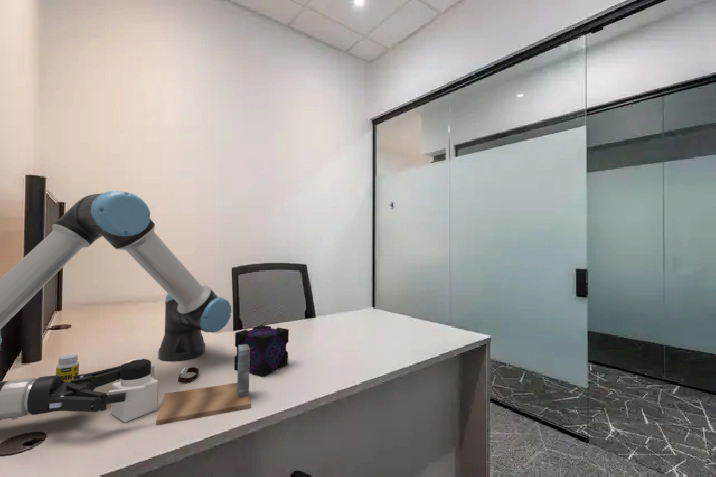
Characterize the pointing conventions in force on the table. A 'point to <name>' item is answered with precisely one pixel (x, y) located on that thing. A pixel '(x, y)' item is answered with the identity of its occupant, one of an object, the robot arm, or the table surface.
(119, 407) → the medicine bottle
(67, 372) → the supplement bottle
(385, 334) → the table surface
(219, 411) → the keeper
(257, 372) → the energy cube
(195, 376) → the watch
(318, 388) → the table surface
